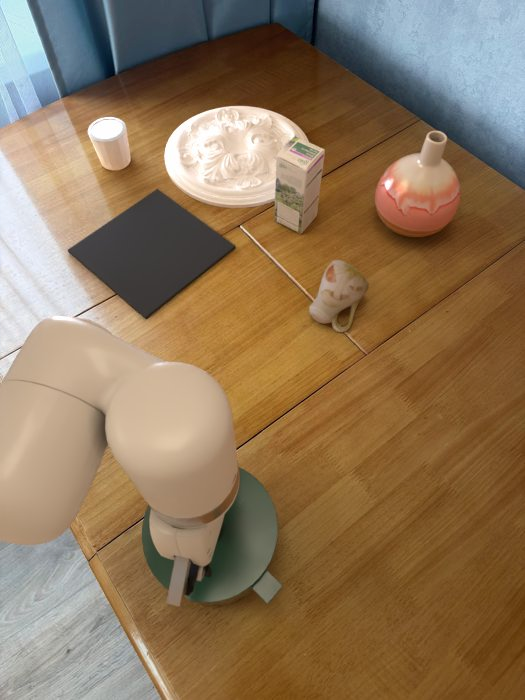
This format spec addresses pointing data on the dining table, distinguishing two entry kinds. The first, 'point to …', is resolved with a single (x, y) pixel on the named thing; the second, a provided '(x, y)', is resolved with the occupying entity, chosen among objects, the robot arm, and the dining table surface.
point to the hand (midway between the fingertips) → (209, 524)
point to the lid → (229, 545)
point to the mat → (151, 252)
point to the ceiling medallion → (229, 155)
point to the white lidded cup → (110, 142)
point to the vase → (419, 191)
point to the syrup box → (298, 184)
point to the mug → (338, 294)
